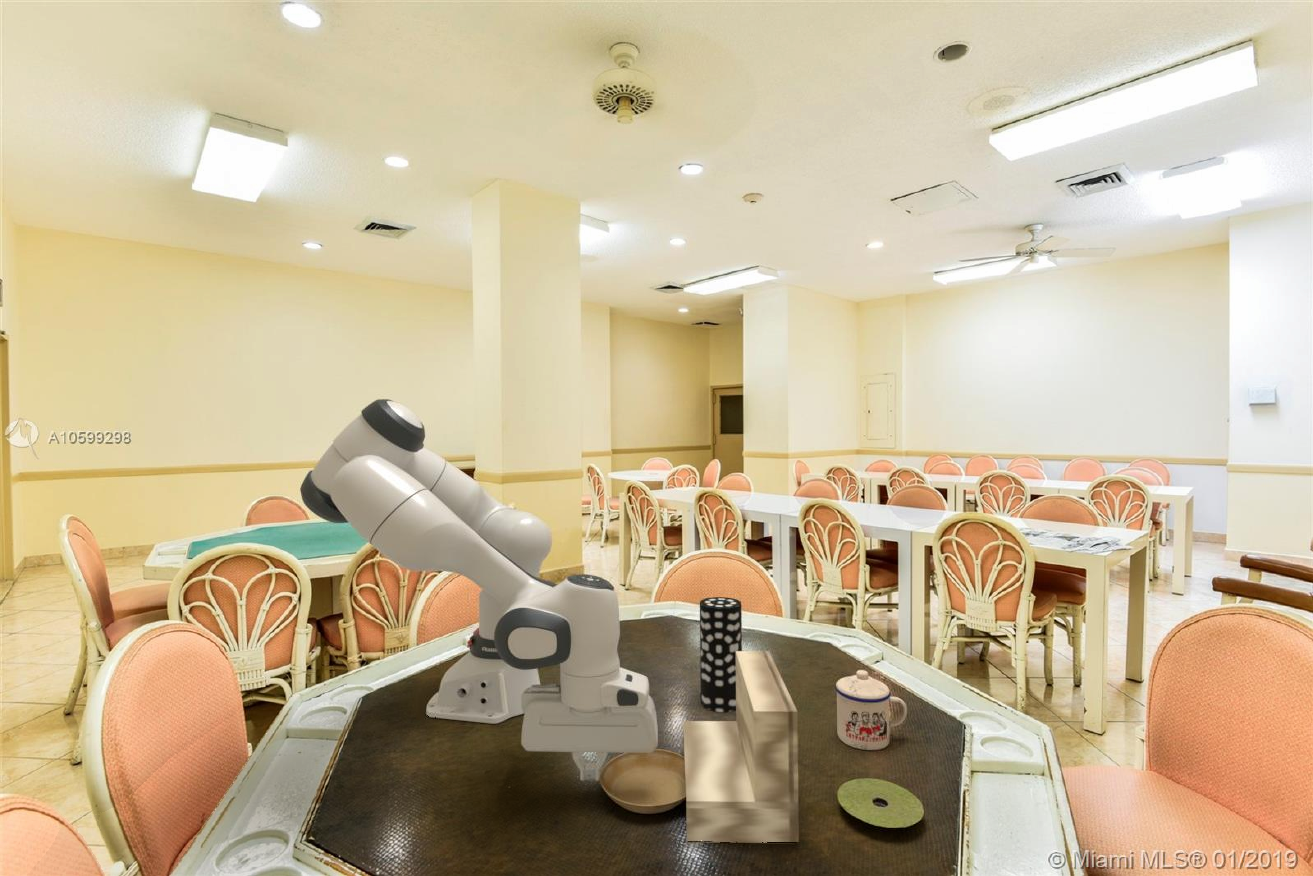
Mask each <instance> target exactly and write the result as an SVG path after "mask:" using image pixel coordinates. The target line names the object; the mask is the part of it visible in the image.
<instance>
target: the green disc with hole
mask: <svg viewBox="0 0 1313 876" xmlns="http://www.w3.org/2000/svg"><path fill="white" fill-rule="evenodd" d="M836 795H837V800H838V803H839V804H840V805H841V807H842V808H843V809H844V810H845V811H846V812H847V813H848V814H850V815H851V816H852V817H855V818H856V819H859V820H861V821H863V822H864V823H868V824H870V825H873V826H876V827H882V828H895V829H896V828H908V827H910V826H913V825H914V824H916V823H918V822H919V821H921V820H922V819H923V816H924V815H925V814H924V813H925V810H924V805H923V803H922V802H921V800H920V799H919V798H918V797H917V796H916V795H914V794H913V792H911V791H909V790H908V789H906V788H904V787H902V786H900V785H899V784H896V783H893V782H891V781H887V780H883V779H879V778H870V777H869V778H868V777H867V778H862V777H859V778H855V779H852V780H848V781H845V782H844V783H843V784H841V785H840V786H839V787H838V790H837V792H836Z"/></svg>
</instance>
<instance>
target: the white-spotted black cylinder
mask: <svg viewBox="0 0 1313 876" xmlns="http://www.w3.org/2000/svg"><path fill="white" fill-rule="evenodd" d="M742 614H743V613H742V601H740V600H739V599H737V598H732V597H726V596H725V597H724V596H713V597H706V598H703V599H701V600H699V646H700V647H699V650H700V651H699V652H700V653H699V656H700V657H699V663H700V665H699V666H700V668H699V669H700V671H699V673H700V676H699V678H700V705H701V706H702V707H703V708H705V709H706V710H708V711H712V712H717V713H730V712H736V651H743V638H742V637H743V633H742V630H743V629H742V628H743V626H742V623H743V621H742V618H743V616H742Z"/></svg>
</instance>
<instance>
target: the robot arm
mask: <svg viewBox="0 0 1313 876" xmlns="http://www.w3.org/2000/svg"><path fill="white" fill-rule="evenodd" d="M425 431H426V430H425V426H424V424H423V422H421V421H420V419H419V417H418V416H417V415H416V413H415V412H414V411H413V410H411V409H410V408H409V407H408V406H406V405H404V404H402V403H399V402H396V401H393V400H392V399H387V398H385V399H384V398H383V399H380V398H378V399H376V400H374V401H373V402H371V403H369V404H368V405H367V406H365V407H364V408H363V409H362V410H361V413H360V414H359V415H358V416H357V417H355V419H354V420H352V421H351V422H350V423H348V425H346V427H345V428H344V429H343V430H342V431H341V432H340V433H339V434H338V435H337V436H336V437H335V438H334V439H333V440H332V441H333V442H332V444H331V445H330V446H329V447H328V448H327V450H326V451H325V452H324V453H323V455H322V456H321V457H320V459H319V460H318V462H317V463H316V465H314V467H313V469H312V470H309V471H308V472H307V474H306V475H305V477H304V479H303V481H302V483H301V484H300V489H299V490H300V491H299V492H300V495H301V500H302V502H303V504H304V506H305V507H307V509H309V510H310V511H311V513H313V514H314V515H316V516H318V517H319V518H321V519H323V520H325V521H327V522H329V523H333V524H346V523H347V524H348V523H349V525H351V527H352V528H353V529H354V530H355V531H356V532H357V534H358V535H360V536H361V537H362V539H364V540H365V541H366V542H367V543H369V545H371V547H373V548H374V549H375V550H376V551H378V553H380V554H381V555H382V556H383V557H385V558H386V559H388V560H390V561H391V562H393V563H395V564H396V565H398V566H400V567H402V568H404V569H406V570H408V571H411V572H435V571H436V572H446V573H447V572H448V573H454V574H458V575H461V576H463V577H465V578H467V579H469V580H470V581H472V582H473V583H475V585H476V586H478V588H479V587H480V588H481V590H480V591H479V595H478V627H477V628H476V629H475V630H474V631H473V632H472V635H471V636H469V639H468V641H467V642H466V643H467V646H466V648H468V649H469V652H467V653H466V654H465V655H463V657H461V658H460V659H458V661H456V662H455V663H454V664H452V665H451V667H449V668H448V669H447V671H446V672H445V673H444V675H443V677H442V678H441V681H440V684H439V690H438V691H437V692H436V693H434V694H433V696H432V697H431V698H430V699H429V701H428V703H427V704H426V707H425V708H426V709H425V710H426V711H425V714H426V716H427V715H428V716H429V717H428V716H427V717H428V718H435V717H436V719H445V720H446V719H447V720H455V721H463V722H464V721H465V722H475V723H483V724H499V723H502V722H504V721H506V720H507V719H510V718H512V717H516V716H519V715H523V714H524V715H523V719H522V720H523V721H522V726H521V727H522V728H521V737H520V739H521V740H520V744H521V746H522V747H523V749H524V750H525V751H527V752H550V753H551V752H557V753H559V752H560V753H562V752H563V753H572V759H573V762H574V763H575V765H576V766H577V768H578V770H579V771H580V772H579V777H580V778H579V779H580V780H579V781H599V782H600V773H601V767H602V766H603V764H604V763H605V761H606V760H607V755H608V753H617V754H619V753H621V754H624V753H652V752H653V751H654V750H655V749H657V747H658V744H659V743H658V742H659V740H658V739H659V738H658V737H659V735H658V734H659V733H658V732H659V731H658V729H659V728H658V721H657V720H658V719H657V718H658V717H657V711H656V706H655V703H654V701H653V698H652V697H651V696H650V682H649V678H648V677H647V676H646V675H644V674H641V673H638V672H635V671H632V670H629V669H626V668H624V667H621V666H620V665H621V664H620V663H621V662H620V657H619V654H618V645H619V641H620V632H621V629H620V608H619V607H620V606H619V599H618V594H617V592H616V589H615V587H614V586H613V584H612V583H611V582H610V581H608V579H605V578H603V577H601V576H598V575H593V574H587V573H581V574H577V573H576V574H572V575H569V576H566V577H565V579H564V580H563V581H561V582H559V584H557V583H556V582H553V581H550V580H546V579H542V578H539V576H540V573H541V572H540V571H541V568H542V565H543V562H544V561H545V559H546V558H547V557H548V556H549V553H550V551H551V548H552V544H553V536H552V532H551V530H550V527H549V526H548V524H546V522H544V521H543V520H542V519H541V518H540V517H538V516H537V515H535V514H533V513H532V512H528V511H525V510H524V511H523V510H520V509H515V508H512V507H509V506H507V505H505V504H503V503H502V502H500V501H498V500H497V499H496V498H495V497H494V496H493V495H491V493H489V492H488V491H487V489H485V488H484V487H482V486H481V484H480V483H479V482H478V481H477V480H475V479H474V478H473V477H471V476H470V475H468V474H466V473H465V472H464V471H462V470H461V469H460V468H458V467H457V466H454V465H453V464H452V463H451V462H449V461H448V460H446V459H445V458H443V457H442V456H441V455H439V454H437V453H436V452H434V451H432V450H430V449H428V448H426V447H425V443H424V441H425V438H426V432H425ZM557 665H558V666H559V665H560V671H559V673H560V684H545V685H544V684H541V680H540V676H539V675H540V674H539V670H538V669H544V668H549V667H553V666H557ZM584 753H596V759H597V761H595V762H593V763H592V762H591V763H589V762H587V761H586V759H585V757H584Z"/></svg>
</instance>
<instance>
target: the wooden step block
mask: <svg viewBox="0 0 1313 876" xmlns="http://www.w3.org/2000/svg"><path fill="white" fill-rule="evenodd" d="M770 652H771V651H769V650H750V651H749V650H745V651H744V650H742V651H736V710H735V714H736V715H735V718H736V719H735V720H734V721H733V720H727V721H726V720H719V721H718V720H683V721H682V730H683V731H682V736H683V737H682V738H683V739H682V744H683V746H682V747H683V748H682V749H683V750H682V751H683V755H682V756H684V759H685V783H686V799H685V804H686V805H685V807H686V808H685V809H686V810H685V811H686V813H685V814H686V818H685V819H686V841H687V840H689V841H701V840H702V841H713V842H712V843H720V842H730V843H733V844H735V843H736V842H737V843H740V844H742V843H743V844H744V843H746V844H768V843H767V842H799V843H800V831H799V829H800V827H799V826H800V823H799V821H800V820H799V747H798V746H799V745H798V744H799V735H798V733H799V732H798V724H799V723H798V710H797V707H796V705H795V704H794V701H793V699H792V697H791V694H790V693H789V691H788V689H787V686H786V684H785V682H784V680H783V678H782V675H781V673H780V672H779V669H778V668H777V667H778V666H777V665H776V663H775V661H774V659H773V656H772V655H771V653H770ZM762 842H763V843H762ZM737 843H736V844H737Z"/></svg>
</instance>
